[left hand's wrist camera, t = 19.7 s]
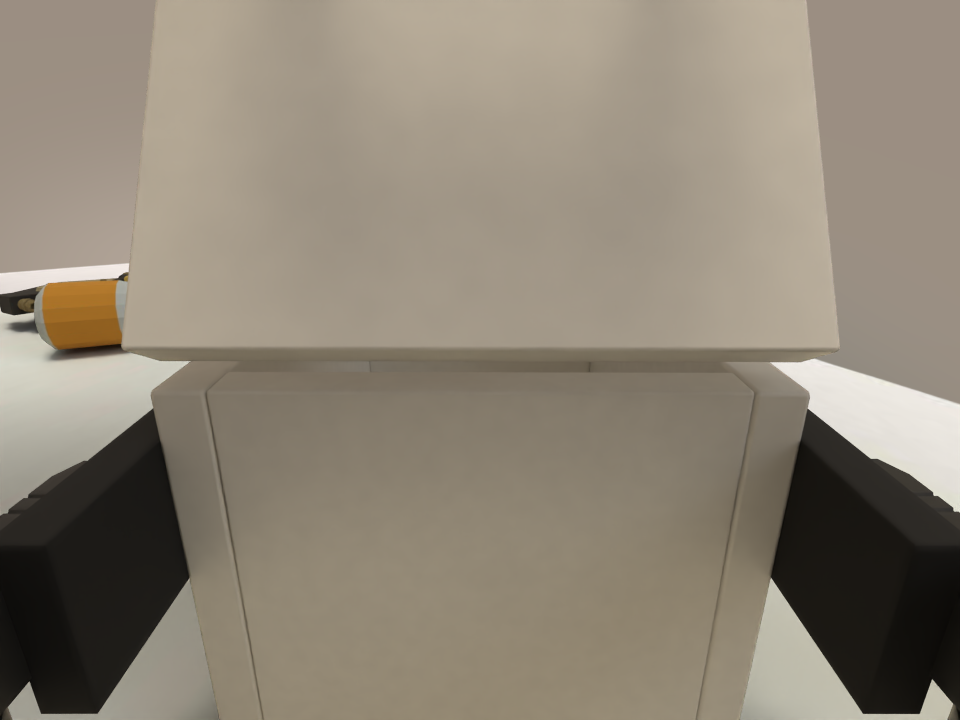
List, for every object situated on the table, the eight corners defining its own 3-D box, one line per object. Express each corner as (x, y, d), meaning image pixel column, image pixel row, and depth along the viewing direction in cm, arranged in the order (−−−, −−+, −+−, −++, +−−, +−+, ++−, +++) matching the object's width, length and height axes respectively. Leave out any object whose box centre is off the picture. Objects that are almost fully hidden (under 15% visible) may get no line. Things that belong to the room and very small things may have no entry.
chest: (359, 456, 25) (342, 246, 22) (599, 456, 25) (617, 247, 22) (231, 785, 12) (146, 391, 9) (727, 786, 12) (814, 392, 9)
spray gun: (3, 324, 45) (207, 300, 54) (20, 370, 33) (278, 329, 42) (-10, 269, 44) (200, 254, 53) (1, 296, 32) (272, 270, 41)
